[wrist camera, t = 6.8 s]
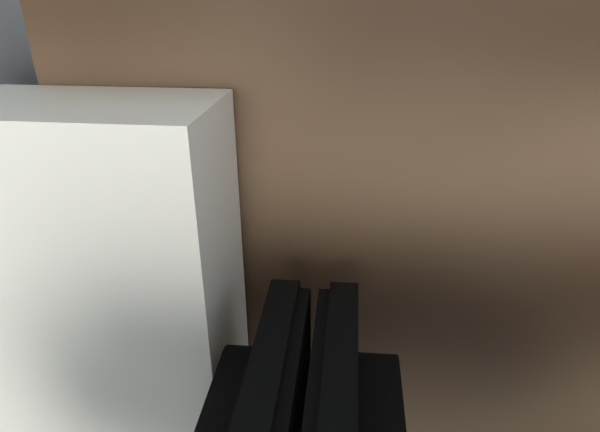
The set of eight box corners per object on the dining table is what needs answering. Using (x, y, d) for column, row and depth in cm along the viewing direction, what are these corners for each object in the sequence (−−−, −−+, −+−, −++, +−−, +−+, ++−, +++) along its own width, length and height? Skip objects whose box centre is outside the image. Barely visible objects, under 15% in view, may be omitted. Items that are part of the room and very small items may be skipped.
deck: (660, 434, 17) (740, 560, 13) (177, 402, 19) (133, 507, 15) (841, -54, 11) (1074, -64, 7) (109, -38, 13) (10, -41, 9)
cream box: (256, 476, 14) (232, 575, 11) (8, 448, 15) (-59, 534, 12) (232, 88, 9) (187, 126, 7) (-116, 82, 10) (-252, 113, 8)
